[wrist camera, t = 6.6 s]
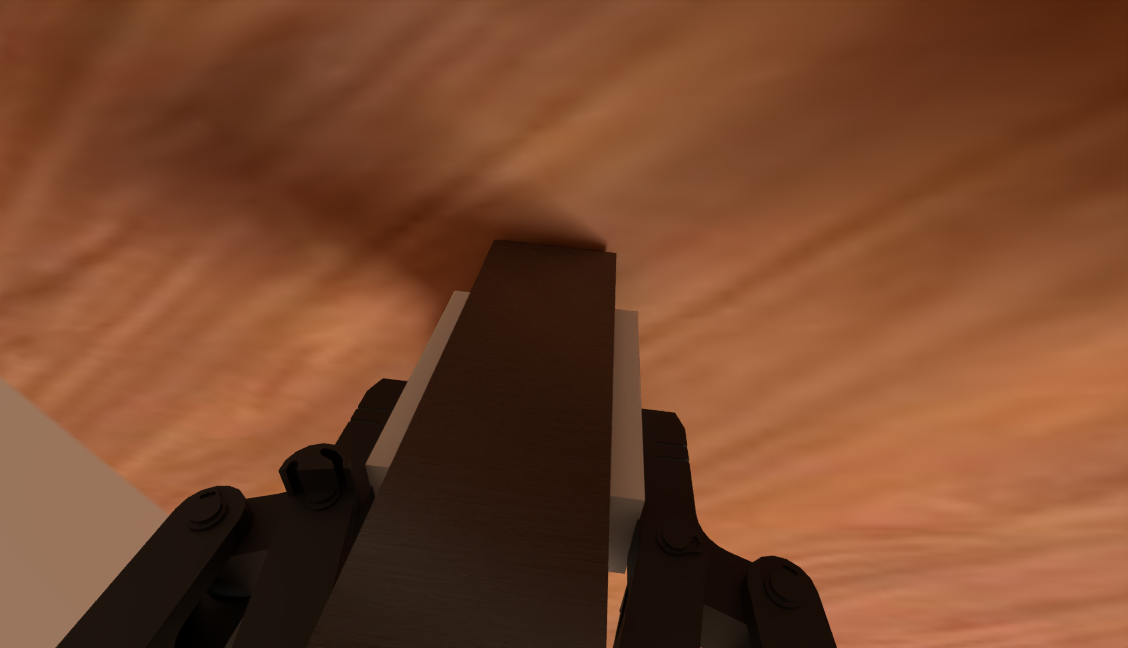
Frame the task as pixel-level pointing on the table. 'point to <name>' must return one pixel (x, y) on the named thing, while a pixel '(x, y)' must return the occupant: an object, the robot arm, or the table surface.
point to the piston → (498, 474)
